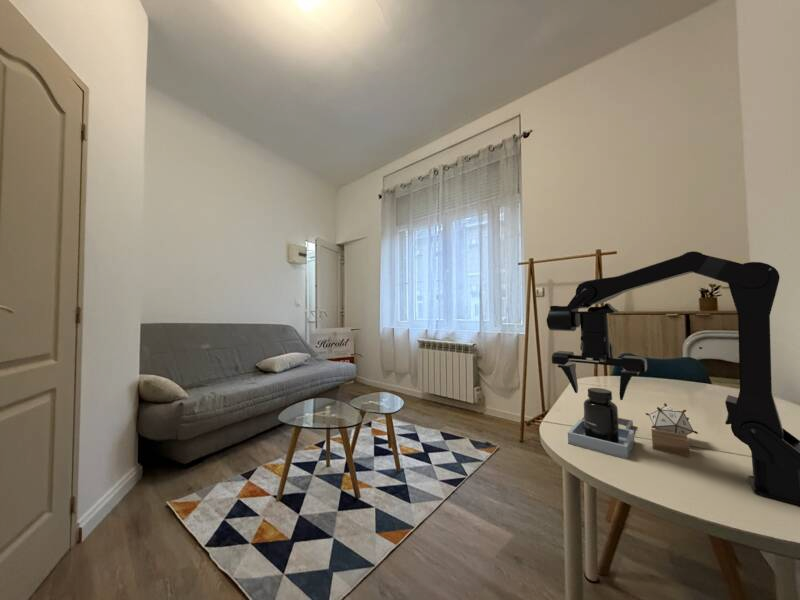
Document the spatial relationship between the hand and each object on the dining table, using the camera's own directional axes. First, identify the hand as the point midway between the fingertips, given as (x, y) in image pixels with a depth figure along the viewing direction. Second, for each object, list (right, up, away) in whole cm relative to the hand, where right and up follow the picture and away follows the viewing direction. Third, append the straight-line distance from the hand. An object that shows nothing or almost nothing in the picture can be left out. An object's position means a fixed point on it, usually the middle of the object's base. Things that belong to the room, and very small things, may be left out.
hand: (598, 396), depth 70 cm
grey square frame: (+8, -11, +9) cm, 16 cm away
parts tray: (0, -11, -1) cm, 11 cm away
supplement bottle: (0, -11, -1) cm, 11 cm away
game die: (+18, -11, 0) cm, 21 cm away
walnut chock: (+13, -11, -5) cm, 18 cm away
